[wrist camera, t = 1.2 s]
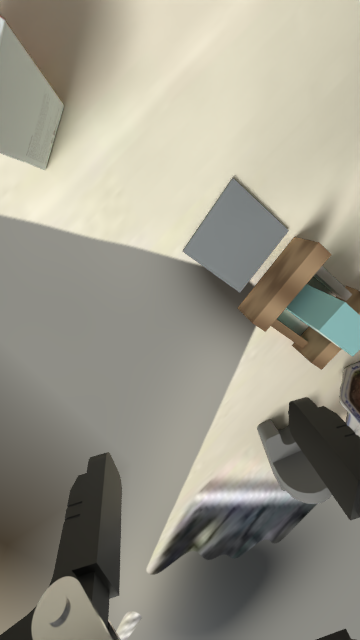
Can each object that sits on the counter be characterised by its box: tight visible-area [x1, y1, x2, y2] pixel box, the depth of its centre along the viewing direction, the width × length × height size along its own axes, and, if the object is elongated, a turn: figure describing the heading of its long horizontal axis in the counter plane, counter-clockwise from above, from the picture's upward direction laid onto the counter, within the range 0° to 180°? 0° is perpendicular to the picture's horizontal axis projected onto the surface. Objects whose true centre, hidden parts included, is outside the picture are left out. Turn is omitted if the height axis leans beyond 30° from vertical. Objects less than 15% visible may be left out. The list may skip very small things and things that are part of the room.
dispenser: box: [238, 237, 360, 370], centre depth 36 cm, size 12×15×5 cm
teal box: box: [285, 284, 360, 356], centre depth 34 cm, size 4×7×10 cm, turn 54°
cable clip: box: [257, 411, 332, 504], centre depth 48 cm, size 10×18×11 cm, turn 22°
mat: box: [183, 178, 289, 292], centre depth 33 cm, size 10×10×1 cm
